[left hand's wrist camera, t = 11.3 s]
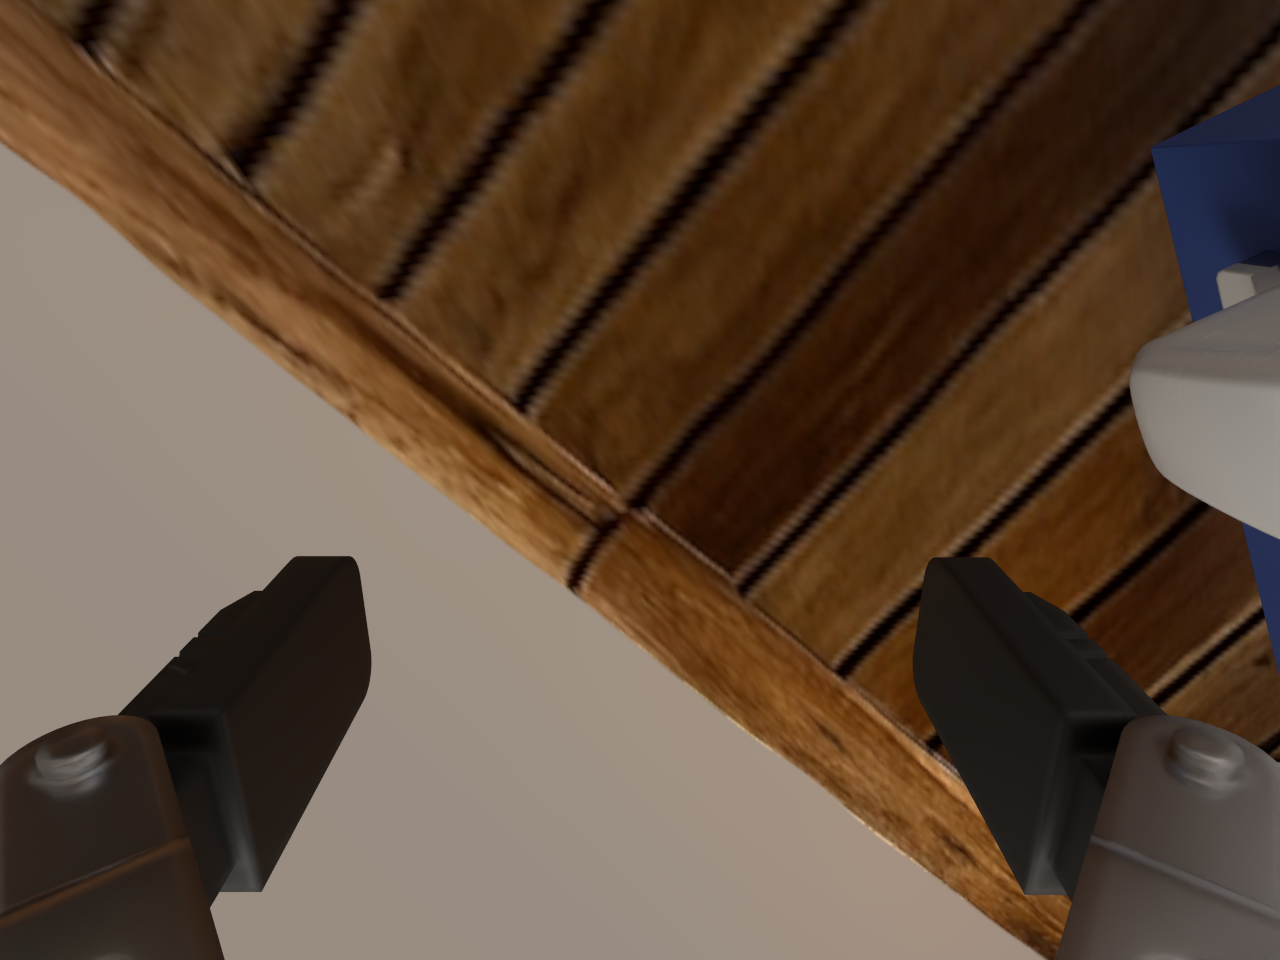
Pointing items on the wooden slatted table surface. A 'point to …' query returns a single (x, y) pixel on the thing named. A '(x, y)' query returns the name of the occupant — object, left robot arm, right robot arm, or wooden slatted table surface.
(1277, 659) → the bar
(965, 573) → the left robot arm
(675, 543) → the wooden slatted table surface
